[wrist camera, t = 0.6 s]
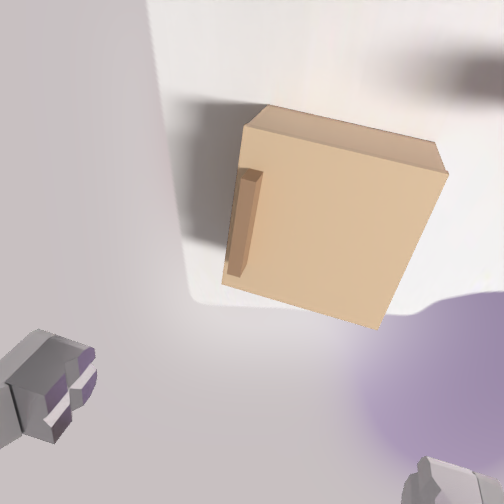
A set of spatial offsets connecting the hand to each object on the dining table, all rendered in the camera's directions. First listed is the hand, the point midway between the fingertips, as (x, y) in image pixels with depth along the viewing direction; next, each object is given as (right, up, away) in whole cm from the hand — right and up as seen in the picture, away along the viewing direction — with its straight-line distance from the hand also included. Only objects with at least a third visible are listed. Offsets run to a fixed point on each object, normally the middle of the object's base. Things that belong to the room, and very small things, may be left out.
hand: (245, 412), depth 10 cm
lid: (+8, +6, +35) cm, 37 cm away
